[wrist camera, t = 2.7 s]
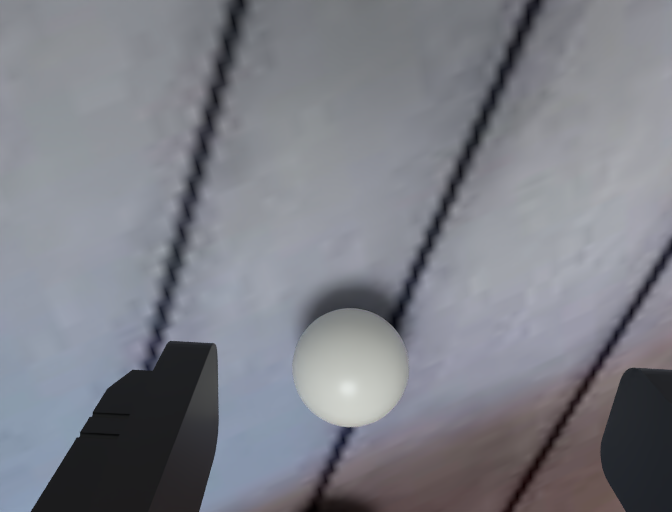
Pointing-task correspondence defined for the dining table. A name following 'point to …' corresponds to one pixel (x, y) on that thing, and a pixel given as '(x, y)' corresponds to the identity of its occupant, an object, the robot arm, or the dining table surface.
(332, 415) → the cue ball
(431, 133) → the dining table surface
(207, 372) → the robot arm
